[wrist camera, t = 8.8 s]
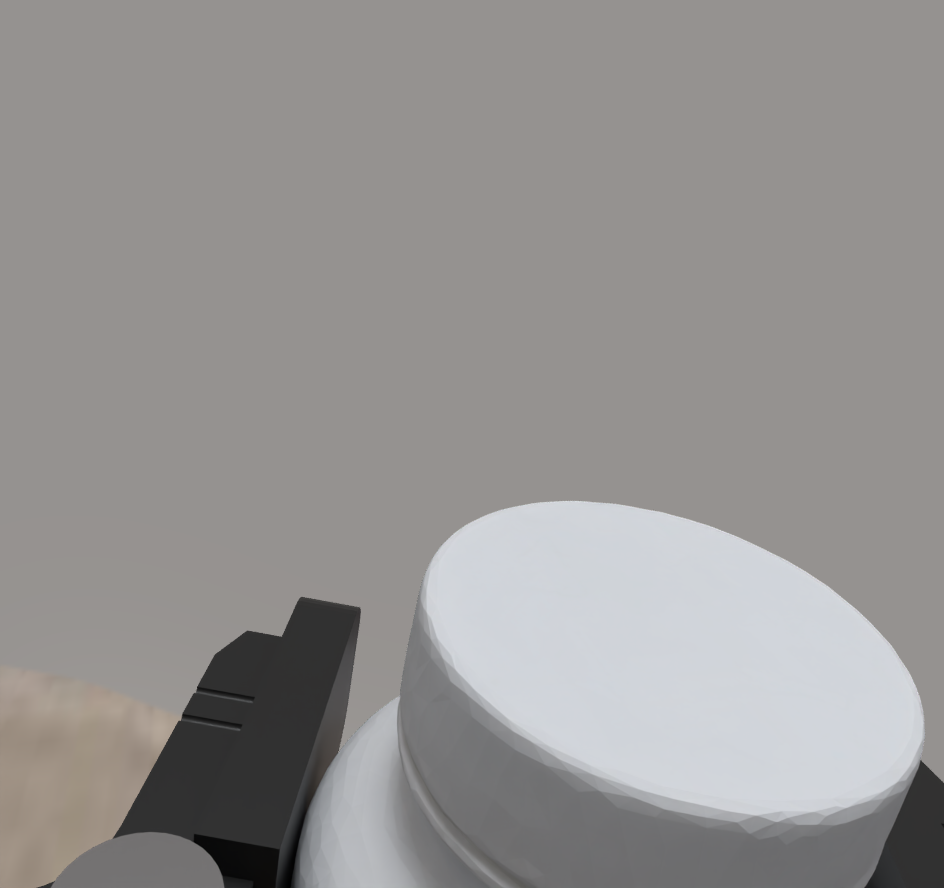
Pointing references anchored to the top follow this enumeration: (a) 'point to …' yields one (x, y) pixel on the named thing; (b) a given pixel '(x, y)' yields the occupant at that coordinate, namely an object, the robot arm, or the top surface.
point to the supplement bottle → (621, 720)
